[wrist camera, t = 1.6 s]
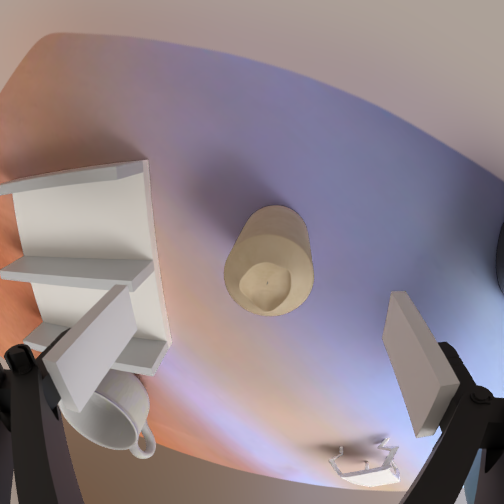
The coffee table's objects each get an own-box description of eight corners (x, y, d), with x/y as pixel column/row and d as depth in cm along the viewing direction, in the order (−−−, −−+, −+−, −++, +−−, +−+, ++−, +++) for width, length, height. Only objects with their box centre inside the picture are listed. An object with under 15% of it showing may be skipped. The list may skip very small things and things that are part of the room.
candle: (304, 268, 28) (309, 332, 19) (242, 263, 29) (219, 324, 19) (310, 206, 26) (320, 245, 17) (244, 202, 27) (218, 238, 17)
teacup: (73, 356, 37) (41, 392, 29) (126, 339, 34) (93, 383, 26) (131, 425, 40) (111, 464, 33) (188, 419, 37) (171, 465, 30)
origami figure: (414, 431, 34) (421, 458, 30) (394, 462, 37) (399, 487, 33) (332, 434, 36) (334, 464, 31) (320, 465, 39) (320, 492, 34)
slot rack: (148, 159, 26) (116, 166, 21) (172, 342, 33) (153, 376, 28) (17, 178, 29) (-18, 189, 23) (50, 323, 35) (25, 347, 30)
